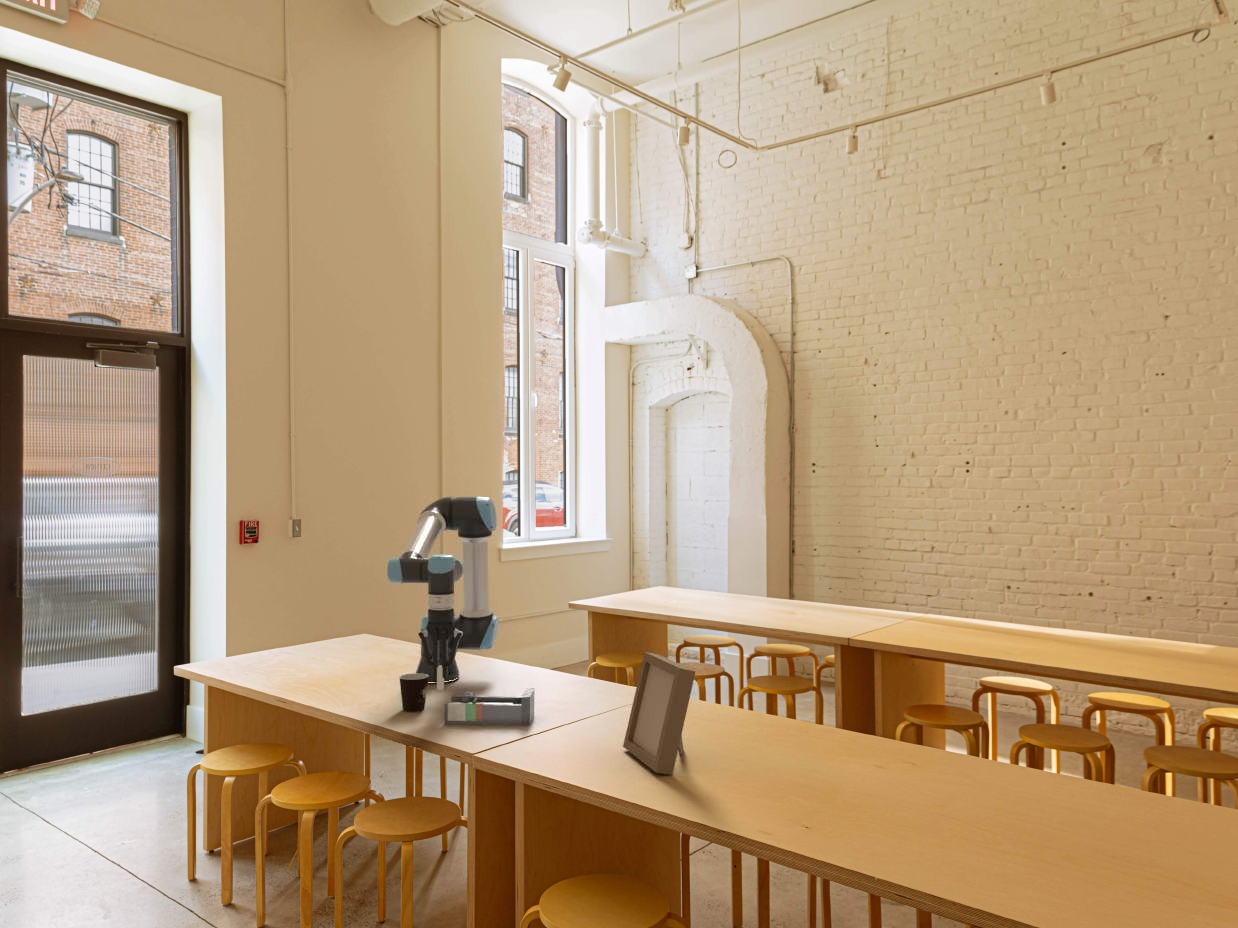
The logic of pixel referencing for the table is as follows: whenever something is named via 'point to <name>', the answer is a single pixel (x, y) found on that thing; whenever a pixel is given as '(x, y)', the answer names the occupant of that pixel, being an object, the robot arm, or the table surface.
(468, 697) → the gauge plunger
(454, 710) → the gauge housing
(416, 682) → the coffee mug
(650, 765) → the photo frame
